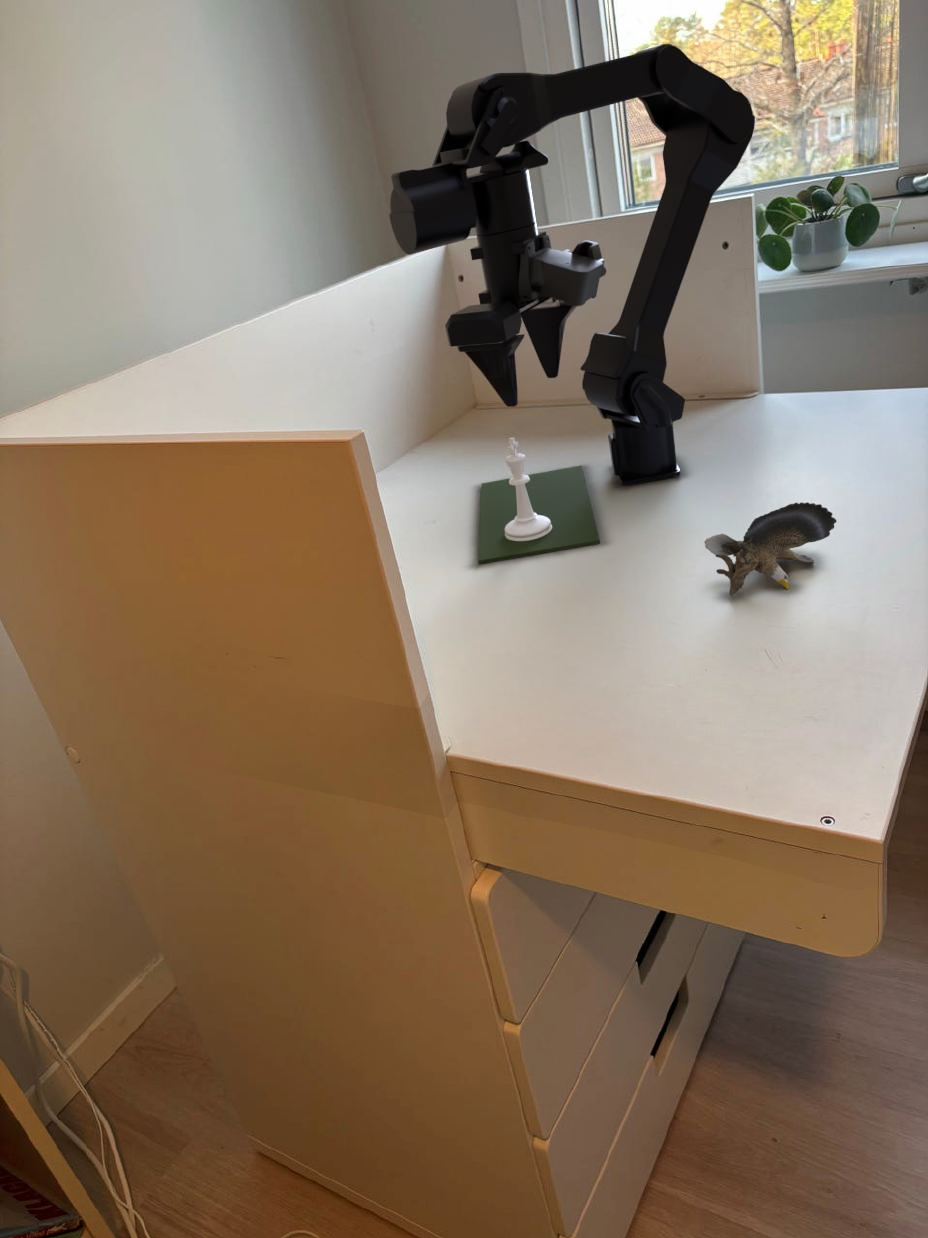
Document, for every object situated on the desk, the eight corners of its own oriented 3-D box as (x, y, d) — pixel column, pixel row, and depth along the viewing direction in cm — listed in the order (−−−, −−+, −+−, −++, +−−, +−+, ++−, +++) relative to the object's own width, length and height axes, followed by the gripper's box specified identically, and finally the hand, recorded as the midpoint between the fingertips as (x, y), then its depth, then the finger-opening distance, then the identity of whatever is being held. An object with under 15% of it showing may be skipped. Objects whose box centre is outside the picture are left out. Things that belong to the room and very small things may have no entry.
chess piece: (559, 521, 96) (543, 428, 91) (542, 541, 92) (525, 446, 88) (515, 521, 98) (498, 430, 94) (497, 541, 95) (478, 448, 90)
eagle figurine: (785, 604, 71) (858, 541, 74) (730, 529, 71) (806, 469, 74) (731, 622, 78) (799, 564, 81) (681, 554, 78) (751, 498, 81)
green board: (581, 468, 110) (581, 465, 109) (600, 543, 90) (599, 539, 90) (482, 486, 111) (481, 483, 111) (478, 564, 92) (478, 560, 91)
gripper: (538, 237, 76) (565, 420, 83) (623, 199, 90) (641, 359, 97) (426, 253, 82) (461, 423, 89) (522, 215, 95) (546, 365, 103)
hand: (533, 391), depth 94 cm, fingers open, 9 cm apart
